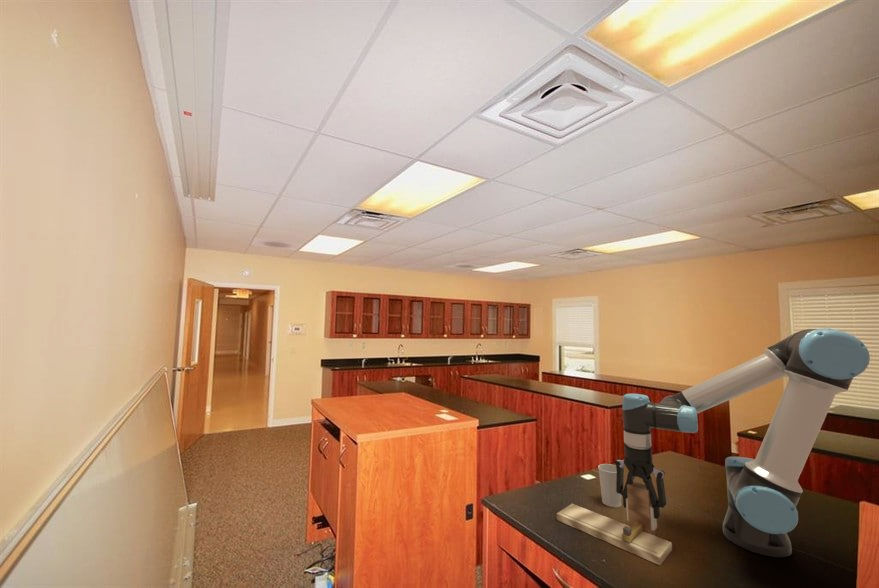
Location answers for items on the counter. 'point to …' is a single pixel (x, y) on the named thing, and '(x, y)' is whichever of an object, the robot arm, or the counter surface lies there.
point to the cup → (609, 485)
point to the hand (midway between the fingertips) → (641, 523)
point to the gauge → (637, 511)
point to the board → (615, 533)
